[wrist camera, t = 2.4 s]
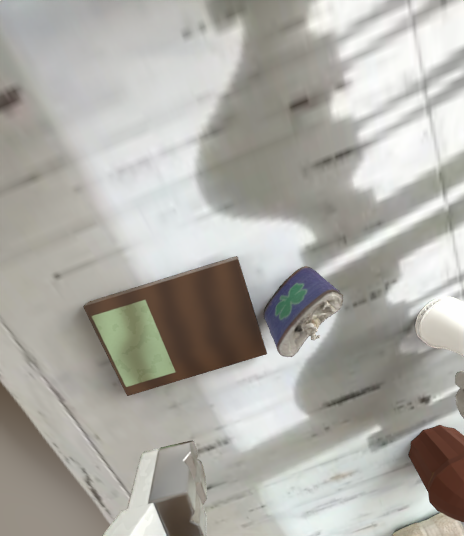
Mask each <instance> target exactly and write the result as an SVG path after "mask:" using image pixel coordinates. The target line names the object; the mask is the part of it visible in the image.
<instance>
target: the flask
mask: <svg viewBox="0 0 464 536" xmlns="http://www.w3.org/2000/svg"><path fill="white" fill-rule="evenodd" d="M342 302H343V295H342V294H341V293H340V292H339V290H337V289H336V288H334V286H332V285H331V284H330V283H329V282H327V281H326V280H325V279H324V278H323V277H321V276H320V275H319V274H318V273H317V272H316V271H315V270H313V269H311V268H310V267H307V266H305V267H302V268H300V269H298V270H297V271H295V272H294V273H293V274H292V275H291V276H290V277H289V278H288V279H286V281H285V282H284V283H283V284H282V285H281V286H280V288H279V289H278V291H277V292H276V293H275V294H274V296H273V297H272V299H271V300H270V301H269V303H268V304H267V306H266V308H265V311H264V319H265V320H266V322H267V324H268V327H269V330H270V333H271V335H272V337H273V339H274V342H275V344H276V347H277V350H278V352H279V353H280V354H281V355H282V356H285V357H292V356H294V355H295V354H296V353H297V352H298V351H299V349H300V347H301V346H302V345H303V343H304V342H305V340H306V339H307V338H308V337H309V336H311V340H315V339H317V338H320V335H318V336H316V335H315V332H317V331H318V330H317V329H318V327H319V325H320V324H321V323H322V322H324V320H325V319H327V318H328V317H330V316H331V315H332V314H334V313H336V312H337V311H338V310H339V309H340V308H341V306H342Z"/></svg>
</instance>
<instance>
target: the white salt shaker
mask: <svg viewBox="0 0 464 536" xmlns="http://www.w3.org/2000/svg"><path fill="white" fill-rule="evenodd" d="M415 330H416V333H417V336H418V337H419V339H420V340H422V341H423V342H424V343H425V344H427V345H428V346H430V347H433V348H445V349H448V350H451V351H453V352H455V353H458V354H460V355H462V356H464V302H462V301H460V300H458V299H456V298H453V297H441V298H437V299H435V300H433V301H431V302H429V303H428V304H427V305H426V306H425V307H424V308H423V309H422V310H421V311H420V313H419V315H418V317H417V319H416V323H415Z"/></svg>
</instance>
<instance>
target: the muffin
mask: <svg viewBox="0 0 464 536" xmlns="http://www.w3.org/2000/svg"><path fill="white" fill-rule="evenodd" d="M408 455H409V457H410V459H411V461H412V463H413V465H414V467H415V469H416V470H417V472H418V474H419V476H420V478H421V480H422V482H423V484H424V485H425V487H426V489H427V491H428V493H429V501H430V503H431V504H432V505H433V506H434V507H435V508H436V510H437V511H439V512H441V513H443V514H445V515H446V516H448V517H450V518H452V519H455V520H458V521H461V522H464V436H463V435H462V434H461V433H460V432H458V431H457V430H456V429H454V428H448V427H444V426H441V425H438V426H436V427H433V428H430V429H426V430H423V431H422V432H421V433H420V434H419V435H418V436H417V437H416V438H415V439H414V440H413V441H411V448H410V451H409V454H408Z"/></svg>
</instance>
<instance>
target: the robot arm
mask: <svg viewBox="0 0 464 536" xmlns="http://www.w3.org/2000/svg"><path fill="white" fill-rule="evenodd" d="M455 384H456V385H457V386H458V387H459V388H460V389H459V391H458V392H457V394H456V406H457V408H458V410H459V412H460V414H461V416H462V417H463V418H464V370H463V371H459V372H457V374H456V375H455ZM206 499H207V488H206V478H205V473H204V468H203V465H202V462H201V461H200V460H198V459H197V447H196V445H195V442H194V441H188V442H183V443H179V444H175V445H170V446H166V447H161V448H159V449H155V450H150V451H146V452H143V454H142V455H141V457H140V461H139V465H138V469H137V473H136V476H135V480H134V484H133V488H132V492H131V496H130V500H129V503H128V507H127V509H126V510H123V511H121V512H120V514H119V515H118V516H117V518H116V519H115V520H114V521H113V523H112V524H111V525H110V527H109V528H108V529H107V531H106V532H105V533H104V534H103V536H206V520H207V516H206V513H205V510H204V507H203V504H204V503H205V501H206Z"/></svg>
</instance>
